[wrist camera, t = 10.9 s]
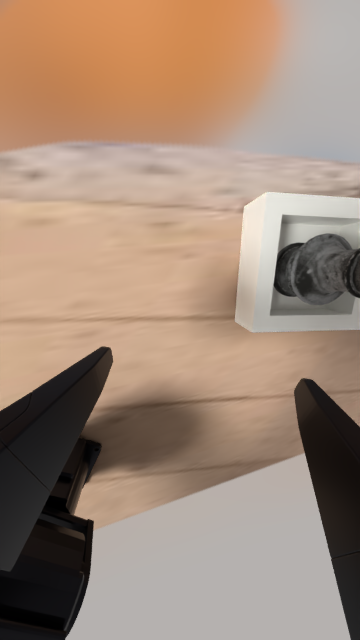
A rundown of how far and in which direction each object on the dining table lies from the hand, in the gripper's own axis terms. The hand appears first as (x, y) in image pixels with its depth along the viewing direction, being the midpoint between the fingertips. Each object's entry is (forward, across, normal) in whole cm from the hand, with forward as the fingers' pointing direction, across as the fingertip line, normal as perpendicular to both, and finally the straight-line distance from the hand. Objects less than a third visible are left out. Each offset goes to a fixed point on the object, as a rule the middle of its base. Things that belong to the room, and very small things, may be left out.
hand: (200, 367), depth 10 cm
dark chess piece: (+15, -8, 0) cm, 17 cm away
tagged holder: (+16, -8, 0) cm, 18 cm away
